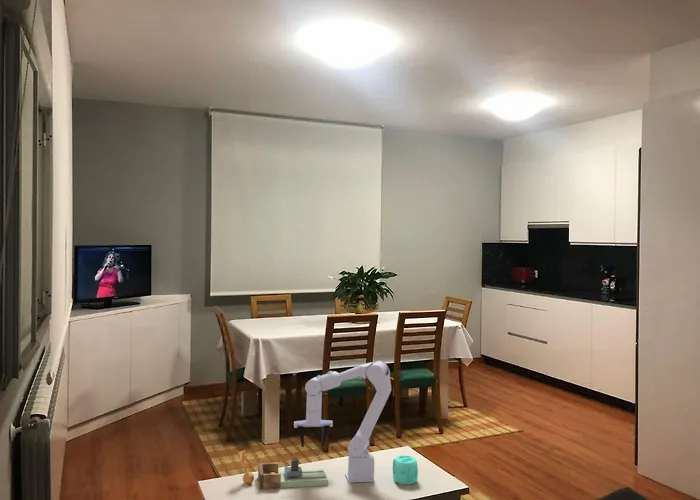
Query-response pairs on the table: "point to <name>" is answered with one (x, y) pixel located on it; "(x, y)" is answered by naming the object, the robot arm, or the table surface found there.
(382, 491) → the table surface
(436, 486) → the table surface
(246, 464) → the figurine
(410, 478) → the decorative dice
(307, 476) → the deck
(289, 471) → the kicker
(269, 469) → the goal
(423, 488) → the table surface
